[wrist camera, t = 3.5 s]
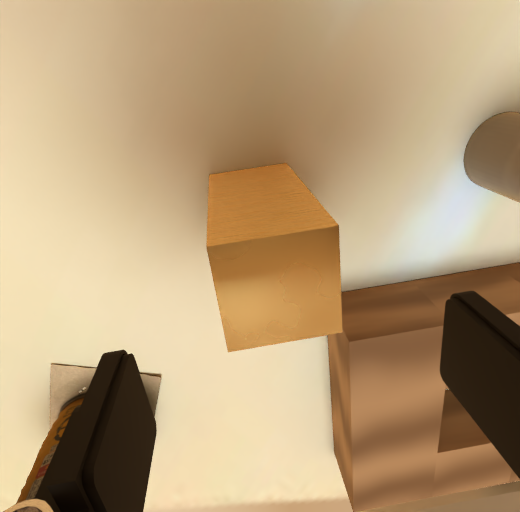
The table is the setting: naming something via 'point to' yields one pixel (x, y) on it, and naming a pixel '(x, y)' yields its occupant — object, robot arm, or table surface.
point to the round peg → (496, 155)
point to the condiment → (69, 414)
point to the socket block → (409, 392)
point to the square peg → (272, 258)
